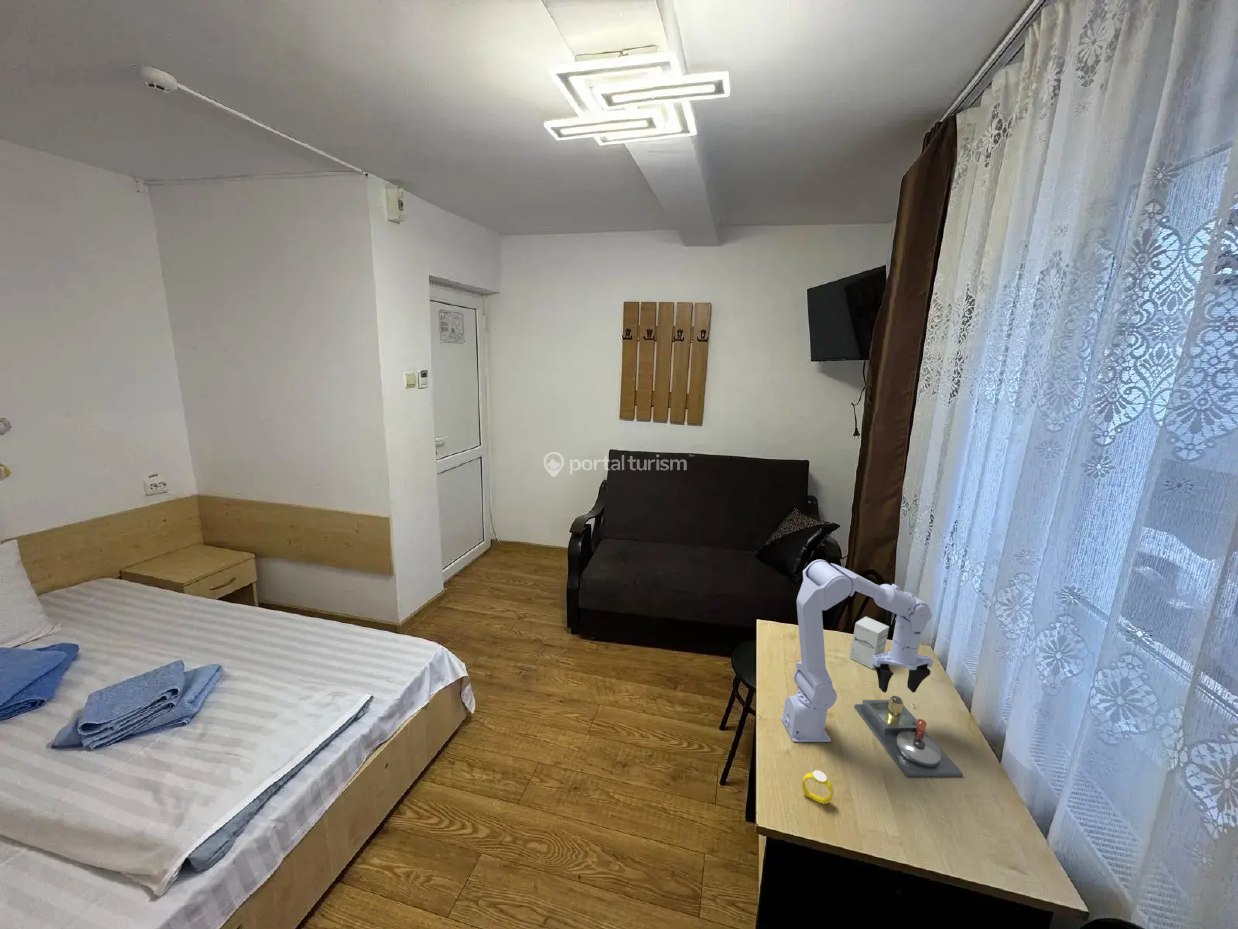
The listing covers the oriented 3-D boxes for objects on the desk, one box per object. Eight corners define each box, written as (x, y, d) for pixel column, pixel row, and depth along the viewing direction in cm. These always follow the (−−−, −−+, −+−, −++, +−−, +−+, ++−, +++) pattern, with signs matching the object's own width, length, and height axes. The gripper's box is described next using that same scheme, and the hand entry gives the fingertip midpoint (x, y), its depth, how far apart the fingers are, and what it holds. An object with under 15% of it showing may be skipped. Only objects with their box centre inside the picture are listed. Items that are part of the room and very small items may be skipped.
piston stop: (888, 724, 121) (892, 701, 120) (884, 716, 124) (888, 693, 123) (900, 726, 121) (905, 703, 119) (896, 718, 124) (901, 696, 122)
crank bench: (906, 777, 107) (909, 762, 106) (854, 707, 128) (856, 694, 127) (961, 776, 108) (965, 761, 107) (900, 707, 129) (902, 694, 128)
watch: (830, 801, 100) (836, 778, 99) (828, 811, 98) (835, 788, 97) (801, 786, 103) (806, 764, 102) (798, 796, 101) (804, 773, 99)
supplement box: (848, 658, 150) (854, 622, 148) (859, 650, 155) (865, 615, 152) (872, 670, 145) (878, 633, 142) (883, 662, 149) (889, 625, 147)
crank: (940, 773, 107) (945, 752, 106) (894, 754, 112) (898, 734, 110) (939, 747, 114) (944, 727, 113) (897, 730, 119) (900, 711, 118)
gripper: (887, 651, 114) (878, 700, 117) (945, 651, 115) (935, 700, 118) (870, 634, 121) (862, 681, 124) (925, 635, 122) (916, 682, 124)
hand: (896, 689), depth 121 cm, fingers open, 7 cm apart
